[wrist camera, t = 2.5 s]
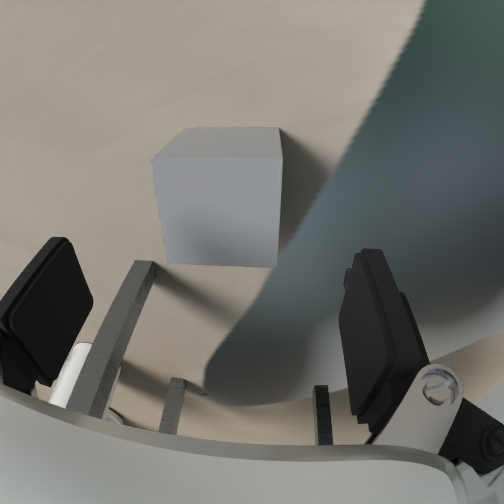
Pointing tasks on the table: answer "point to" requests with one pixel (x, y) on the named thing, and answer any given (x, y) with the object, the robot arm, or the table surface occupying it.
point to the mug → (75, 377)
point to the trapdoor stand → (110, 357)
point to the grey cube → (220, 196)
